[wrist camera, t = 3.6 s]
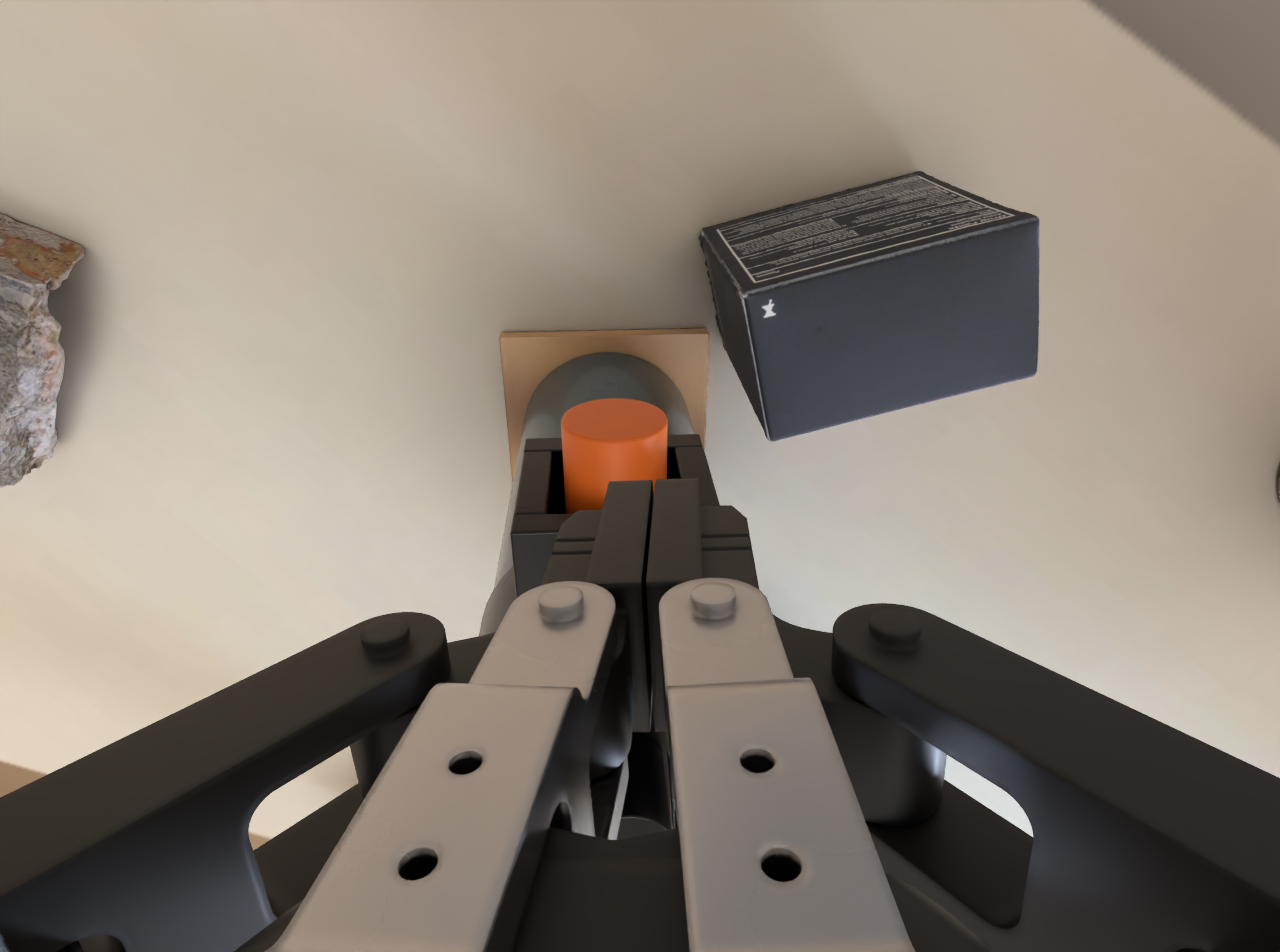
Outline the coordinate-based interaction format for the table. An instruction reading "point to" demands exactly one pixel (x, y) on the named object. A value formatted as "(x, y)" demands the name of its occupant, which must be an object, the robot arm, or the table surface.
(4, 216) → the geological specimen
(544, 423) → the drink bottle
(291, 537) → the table surface
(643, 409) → the button
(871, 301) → the small box
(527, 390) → the coaster
